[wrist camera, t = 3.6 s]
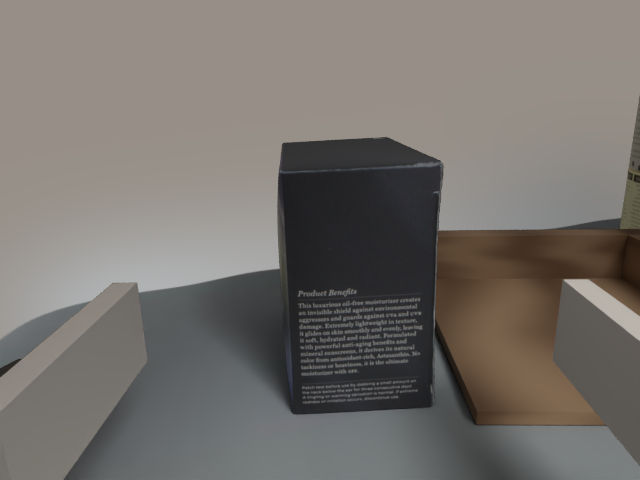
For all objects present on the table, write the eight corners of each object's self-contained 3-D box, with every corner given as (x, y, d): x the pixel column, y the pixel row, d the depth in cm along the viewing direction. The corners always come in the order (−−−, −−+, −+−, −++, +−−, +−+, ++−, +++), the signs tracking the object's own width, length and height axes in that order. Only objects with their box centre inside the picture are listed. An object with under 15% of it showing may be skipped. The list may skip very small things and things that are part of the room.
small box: (284, 311, 30) (277, 139, 27) (388, 306, 31) (392, 135, 28) (283, 419, 20) (271, 163, 17) (439, 409, 20) (453, 158, 17)
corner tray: (629, 278, 34) (637, 228, 33) (868, 426, 19) (897, 342, 18) (414, 279, 35) (416, 230, 34) (475, 424, 19) (482, 343, 18)
